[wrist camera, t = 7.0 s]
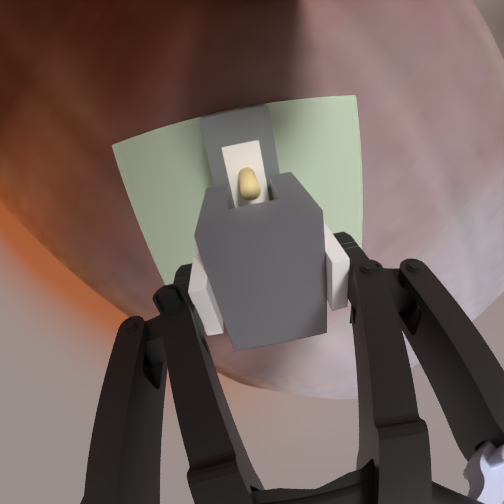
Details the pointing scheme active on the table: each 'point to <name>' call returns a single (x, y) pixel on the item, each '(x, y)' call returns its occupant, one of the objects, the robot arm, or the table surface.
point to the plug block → (266, 263)
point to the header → (242, 168)
